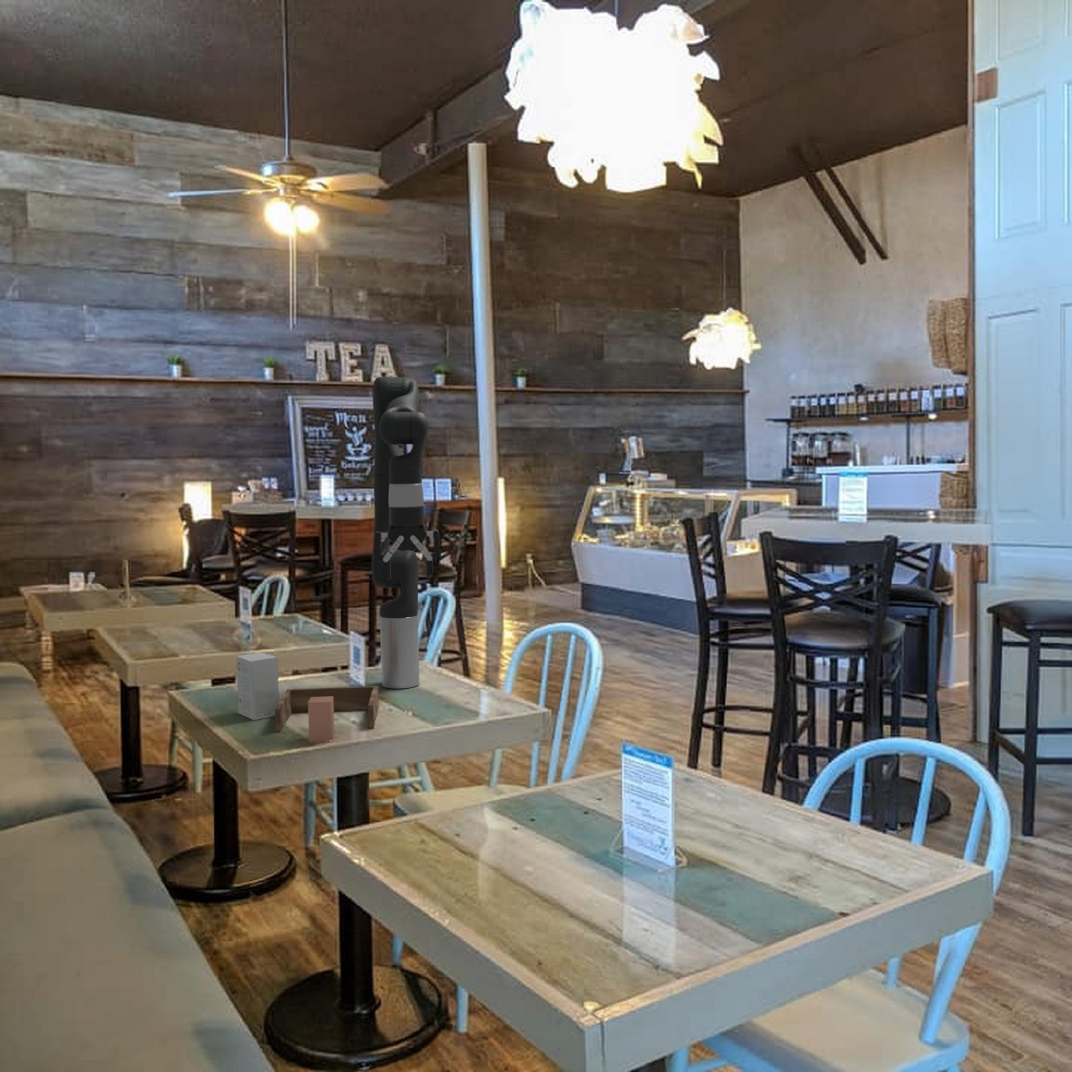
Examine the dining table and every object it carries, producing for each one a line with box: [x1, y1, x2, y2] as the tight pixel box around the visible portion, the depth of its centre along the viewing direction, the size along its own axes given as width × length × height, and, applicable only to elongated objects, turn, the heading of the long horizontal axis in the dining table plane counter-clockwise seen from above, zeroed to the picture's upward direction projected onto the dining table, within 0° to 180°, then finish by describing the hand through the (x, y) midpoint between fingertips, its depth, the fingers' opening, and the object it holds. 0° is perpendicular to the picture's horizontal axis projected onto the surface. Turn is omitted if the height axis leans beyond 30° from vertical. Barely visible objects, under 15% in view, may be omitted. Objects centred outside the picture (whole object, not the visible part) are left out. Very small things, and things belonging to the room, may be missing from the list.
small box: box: [235, 652, 280, 721], centre depth 227 cm, size 8×6×13 cm
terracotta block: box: [307, 696, 336, 743], centre depth 208 cm, size 4×4×8 cm
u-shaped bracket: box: [274, 685, 380, 733], centre depth 223 cm, size 17×20×5 cm
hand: (408, 578), depth 227 cm, fingers open, 8 cm apart
